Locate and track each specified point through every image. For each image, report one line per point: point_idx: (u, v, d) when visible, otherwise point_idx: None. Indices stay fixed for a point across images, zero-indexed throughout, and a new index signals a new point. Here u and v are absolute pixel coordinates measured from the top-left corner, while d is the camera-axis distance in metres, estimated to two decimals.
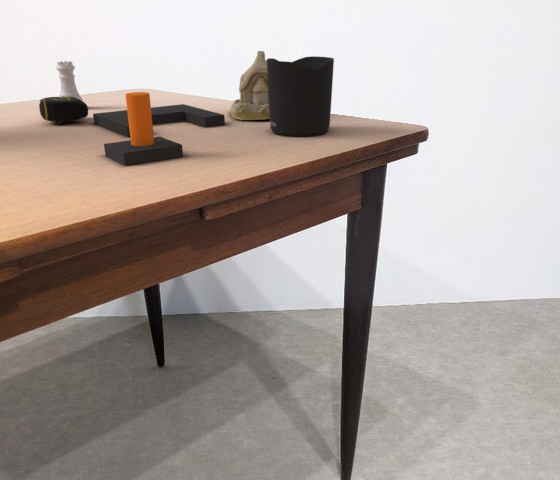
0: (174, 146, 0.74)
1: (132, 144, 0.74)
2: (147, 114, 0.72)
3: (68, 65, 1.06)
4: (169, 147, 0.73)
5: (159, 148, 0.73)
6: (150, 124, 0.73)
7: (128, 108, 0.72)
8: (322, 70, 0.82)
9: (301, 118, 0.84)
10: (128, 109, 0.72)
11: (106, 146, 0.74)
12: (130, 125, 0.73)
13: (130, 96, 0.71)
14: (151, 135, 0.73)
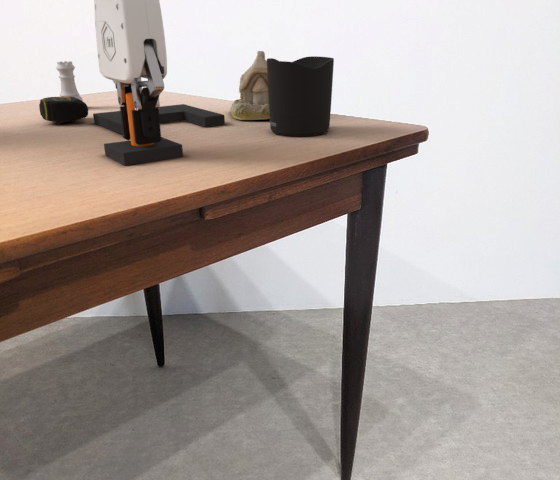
0: (174, 146, 0.74)
1: (132, 144, 0.74)
2: None
3: (68, 65, 1.06)
4: (169, 147, 0.73)
5: (159, 148, 0.73)
6: None
7: (128, 108, 0.72)
8: (322, 70, 0.82)
9: (301, 118, 0.84)
10: (128, 109, 0.72)
11: (106, 146, 0.74)
12: (130, 125, 0.73)
13: (130, 96, 0.71)
14: None
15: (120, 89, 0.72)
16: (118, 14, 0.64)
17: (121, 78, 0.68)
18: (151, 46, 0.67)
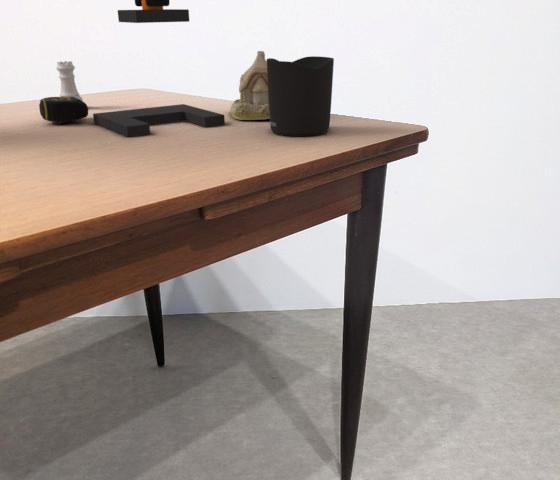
0: (181, 10, 0.81)
1: (143, 8, 0.81)
2: None
3: (68, 65, 1.06)
4: (177, 10, 0.80)
5: (168, 10, 0.80)
6: None
7: None
8: (322, 70, 0.82)
9: (301, 118, 0.84)
10: None
11: (119, 11, 0.82)
12: None
13: None
14: None
15: None
16: None
17: None
18: None
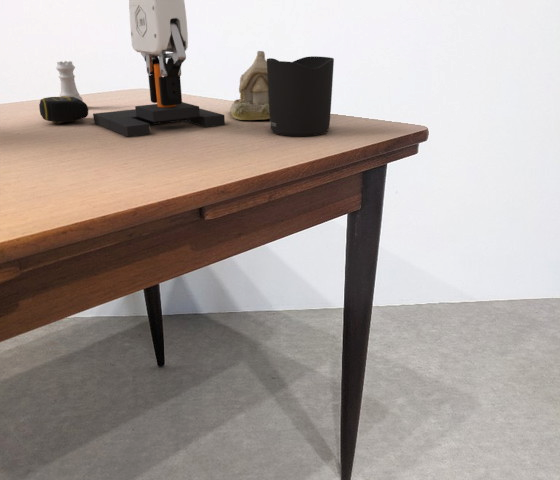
0: (193, 107, 0.90)
1: (158, 106, 0.91)
2: None
3: (68, 65, 1.06)
4: (189, 108, 0.90)
5: (181, 108, 0.89)
6: None
7: (156, 76, 0.89)
8: (322, 70, 0.82)
9: (301, 118, 0.84)
10: (156, 77, 0.89)
11: (137, 108, 0.91)
12: (157, 90, 0.90)
13: (157, 66, 0.88)
14: None
15: (149, 61, 0.89)
16: None
17: (151, 50, 0.84)
18: (175, 24, 0.83)
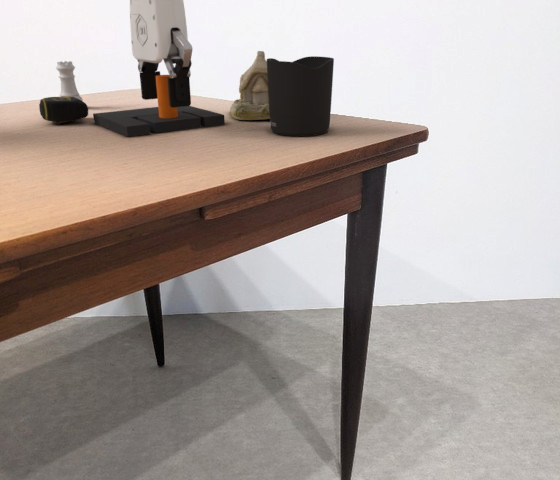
0: (194, 118, 0.91)
1: (160, 117, 0.91)
2: None
3: (68, 65, 1.06)
4: (190, 119, 0.91)
5: (182, 120, 0.90)
6: None
7: (157, 87, 0.89)
8: (322, 70, 0.82)
9: (301, 118, 0.84)
10: (157, 88, 0.89)
11: (139, 118, 0.92)
12: (159, 101, 0.90)
13: (159, 77, 0.88)
14: (175, 109, 0.91)
15: (142, 63, 0.91)
16: (151, 8, 0.82)
17: (152, 59, 0.85)
18: (176, 28, 0.83)
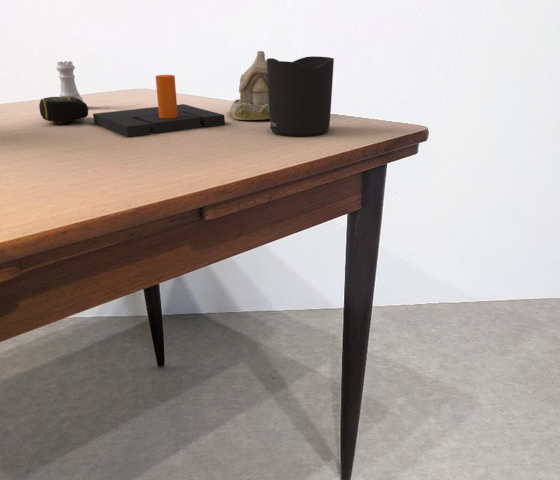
0: (194, 118, 0.91)
1: (160, 117, 0.91)
2: (173, 92, 0.90)
3: (68, 65, 1.06)
4: (190, 119, 0.91)
5: (182, 120, 0.90)
6: (174, 100, 0.90)
7: (157, 87, 0.89)
8: (322, 70, 0.82)
9: (301, 118, 0.84)
10: (157, 88, 0.89)
11: (139, 118, 0.92)
12: (159, 101, 0.90)
13: (159, 77, 0.88)
14: (175, 109, 0.91)
15: None
16: None
17: None
18: None
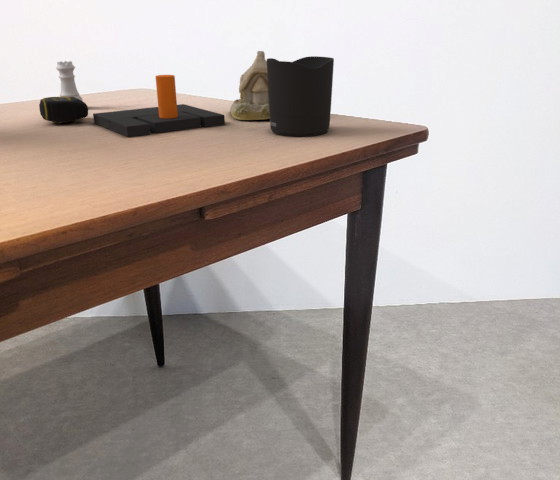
0: (194, 118, 0.91)
1: (160, 117, 0.91)
2: (173, 92, 0.90)
3: (68, 65, 1.06)
4: (190, 119, 0.91)
5: (182, 120, 0.90)
6: (174, 100, 0.90)
7: (157, 87, 0.89)
8: (322, 70, 0.82)
9: (301, 118, 0.84)
10: (157, 88, 0.89)
11: (139, 118, 0.92)
12: (159, 101, 0.90)
13: (159, 77, 0.88)
14: (175, 109, 0.91)
15: None
16: None
17: None
18: None
